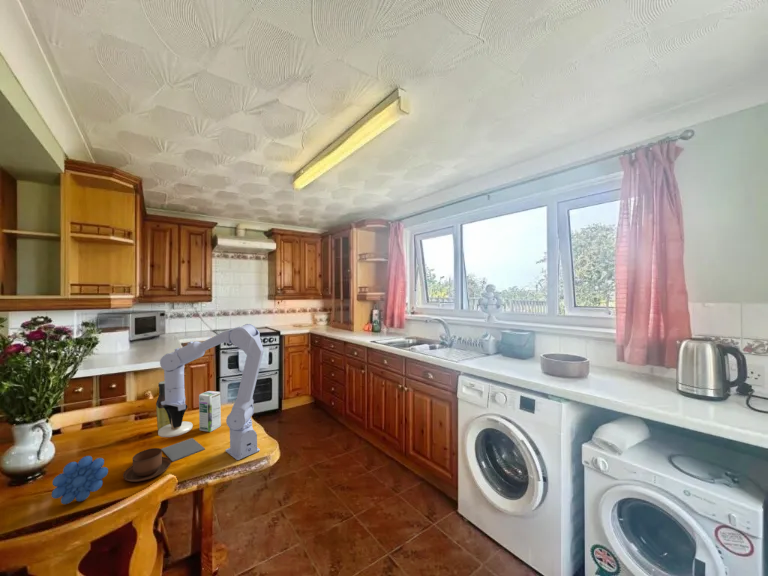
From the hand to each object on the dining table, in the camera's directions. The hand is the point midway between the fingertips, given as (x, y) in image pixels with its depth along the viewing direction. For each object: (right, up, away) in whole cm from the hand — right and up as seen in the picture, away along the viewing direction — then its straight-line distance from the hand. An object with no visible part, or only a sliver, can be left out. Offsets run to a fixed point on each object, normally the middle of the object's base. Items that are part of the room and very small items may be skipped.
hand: (175, 425), depth 110 cm
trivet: (+1, -10, +3) cm, 10 cm away
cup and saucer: (-2, -11, -11) cm, 15 cm away
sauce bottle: (-15, -10, +18) cm, 26 cm away
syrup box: (+1, -10, +19) cm, 22 cm away
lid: (0, -2, 0) cm, 2 cm away
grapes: (-11, -11, -22) cm, 27 cm away
